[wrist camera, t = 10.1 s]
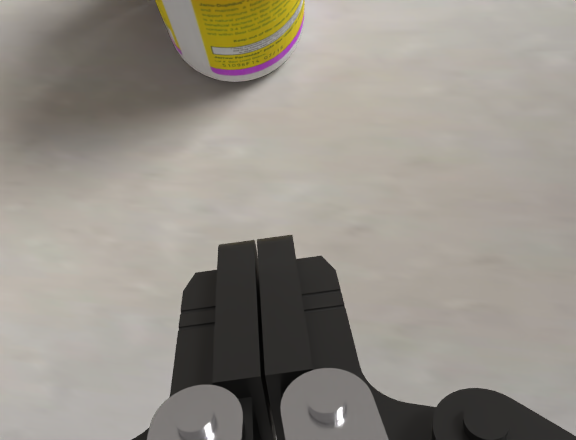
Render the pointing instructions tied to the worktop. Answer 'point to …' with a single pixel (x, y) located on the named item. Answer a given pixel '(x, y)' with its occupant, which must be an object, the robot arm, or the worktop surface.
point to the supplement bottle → (233, 34)
